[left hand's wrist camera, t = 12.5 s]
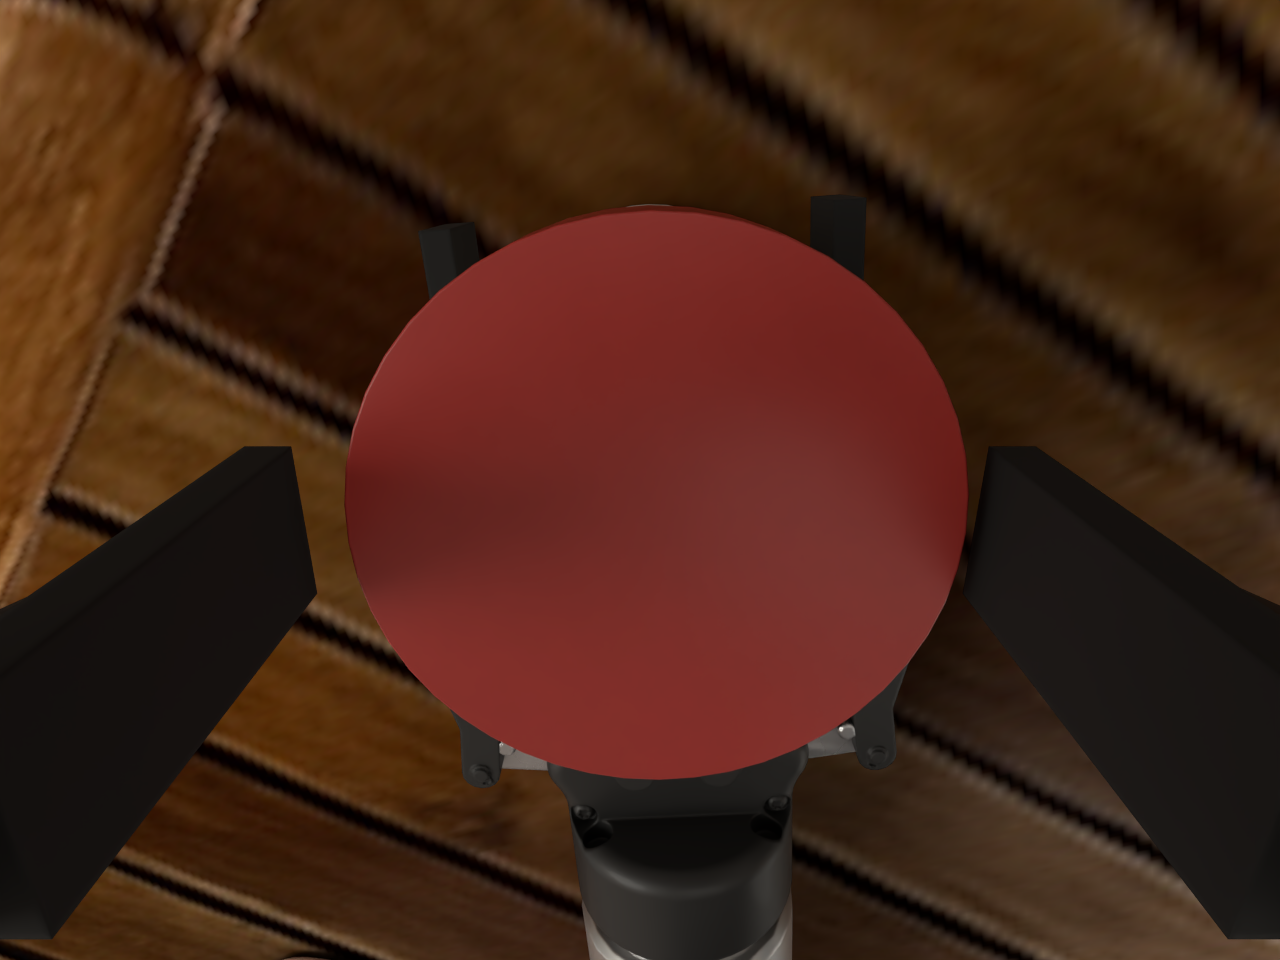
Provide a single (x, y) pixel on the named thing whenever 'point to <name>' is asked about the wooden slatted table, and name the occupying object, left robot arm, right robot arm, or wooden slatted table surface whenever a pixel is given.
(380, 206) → the wooden slatted table surface
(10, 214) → the wooden slatted table surface
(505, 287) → the lid
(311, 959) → the anatomical model
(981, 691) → the wooden slatted table surface
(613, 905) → the right robot arm
